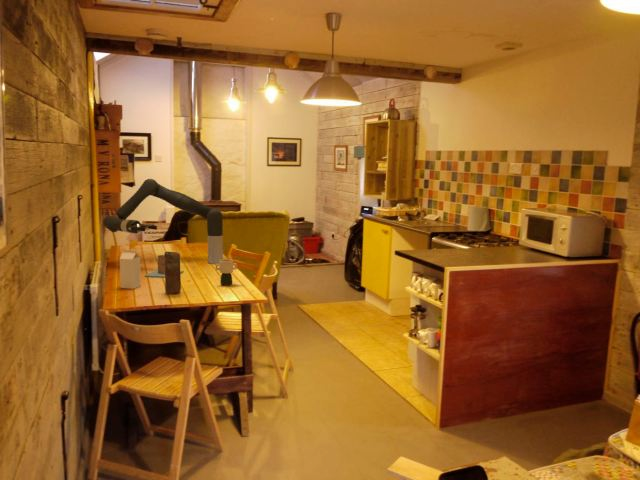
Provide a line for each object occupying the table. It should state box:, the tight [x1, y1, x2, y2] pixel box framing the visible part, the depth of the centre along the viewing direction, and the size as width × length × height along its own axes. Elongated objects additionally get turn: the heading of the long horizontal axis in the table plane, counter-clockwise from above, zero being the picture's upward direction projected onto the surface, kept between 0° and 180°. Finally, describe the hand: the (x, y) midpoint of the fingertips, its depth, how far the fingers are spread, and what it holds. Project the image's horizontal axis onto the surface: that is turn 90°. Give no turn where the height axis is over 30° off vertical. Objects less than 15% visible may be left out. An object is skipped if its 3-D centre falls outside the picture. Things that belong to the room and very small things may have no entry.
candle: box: [164, 251, 182, 295], centre depth 261 cm, size 8×7×20 cm
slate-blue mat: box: [144, 269, 185, 279], centre depth 301 cm, size 16×16×1 cm
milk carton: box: [119, 249, 142, 290], centre depth 270 cm, size 7×7×19 cm
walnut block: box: [157, 254, 165, 274], centre depth 301 cm, size 5×5×10 cm
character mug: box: [215, 258, 238, 286], centre depth 279 cm, size 11×7×13 cm, turn 106°
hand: (150, 228), depth 303 cm, fingers open, 8 cm apart
